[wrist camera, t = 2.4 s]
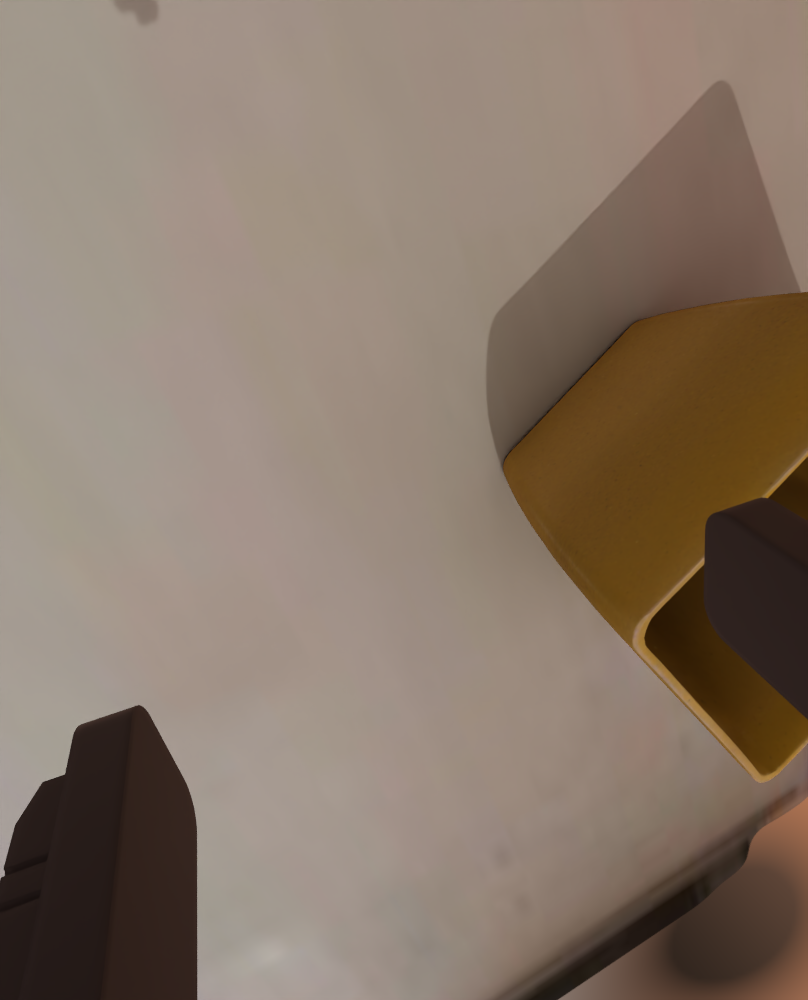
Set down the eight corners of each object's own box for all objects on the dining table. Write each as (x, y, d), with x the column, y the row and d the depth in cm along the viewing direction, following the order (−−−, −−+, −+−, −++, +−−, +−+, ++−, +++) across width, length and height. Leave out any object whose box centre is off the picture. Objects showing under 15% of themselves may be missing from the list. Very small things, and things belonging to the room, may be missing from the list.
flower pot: (426, 472, 40) (629, 642, 26) (655, 230, 39) (977, 277, 26) (572, 619, 51) (765, 790, 38) (750, 431, 51) (1007, 536, 37)
